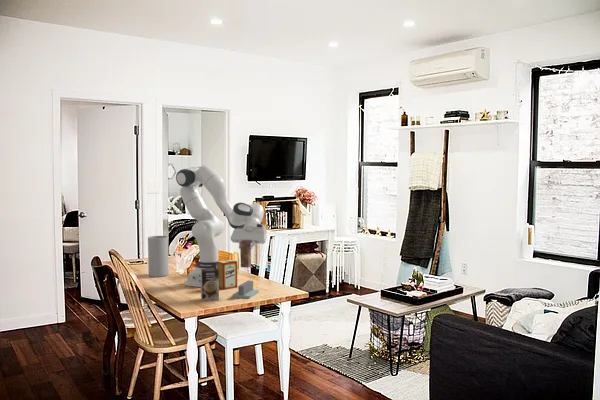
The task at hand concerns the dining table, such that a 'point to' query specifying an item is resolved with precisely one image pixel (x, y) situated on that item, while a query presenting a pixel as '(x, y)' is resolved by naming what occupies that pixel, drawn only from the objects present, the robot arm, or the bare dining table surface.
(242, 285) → the rail
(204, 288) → the coffee box
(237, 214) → the robot arm
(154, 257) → the cylinder vase
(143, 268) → the dining table surface
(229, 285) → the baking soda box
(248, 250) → the oak post
